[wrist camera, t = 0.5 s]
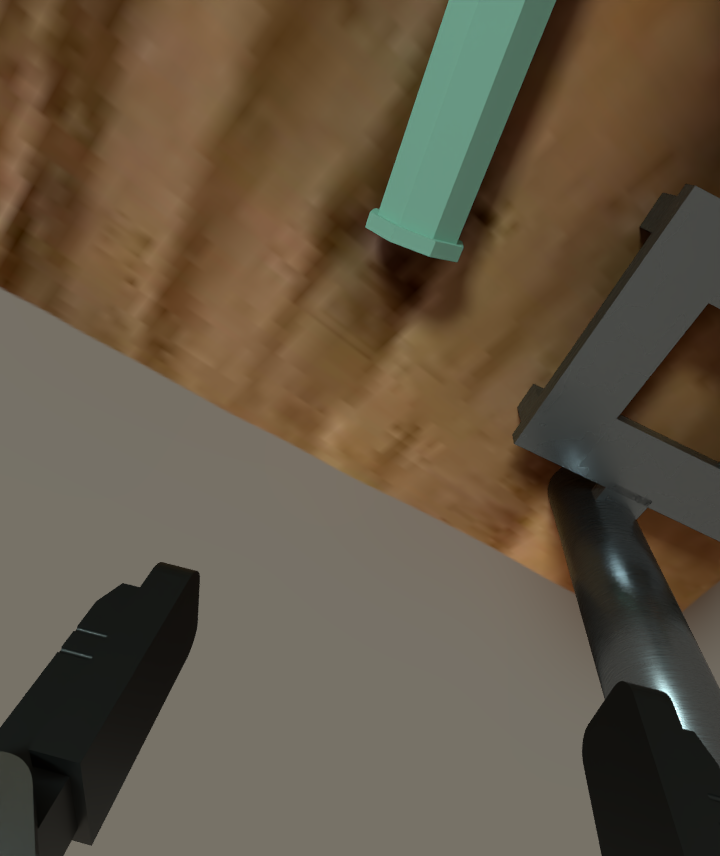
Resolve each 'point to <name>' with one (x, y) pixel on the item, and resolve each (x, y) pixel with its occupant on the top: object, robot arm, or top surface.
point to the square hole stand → (634, 463)
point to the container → (458, 121)
